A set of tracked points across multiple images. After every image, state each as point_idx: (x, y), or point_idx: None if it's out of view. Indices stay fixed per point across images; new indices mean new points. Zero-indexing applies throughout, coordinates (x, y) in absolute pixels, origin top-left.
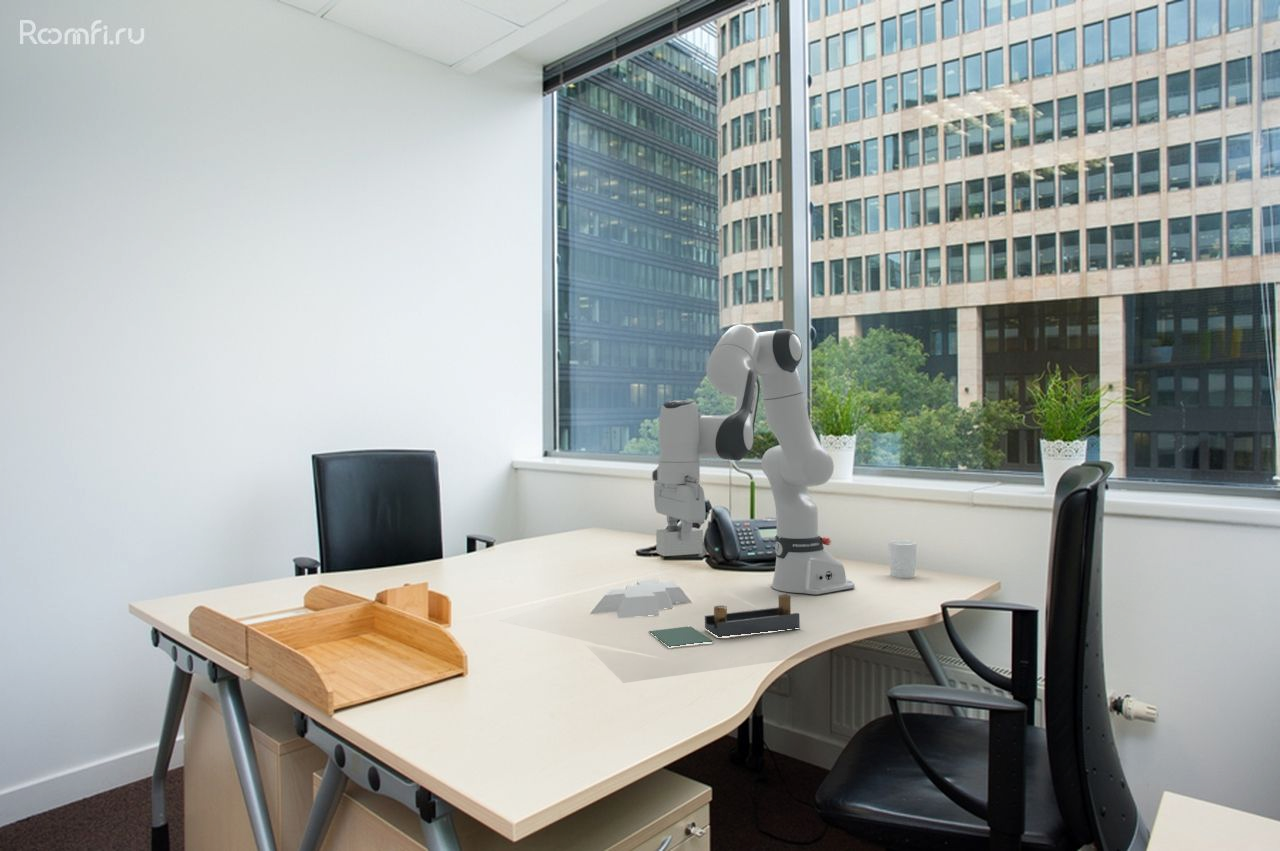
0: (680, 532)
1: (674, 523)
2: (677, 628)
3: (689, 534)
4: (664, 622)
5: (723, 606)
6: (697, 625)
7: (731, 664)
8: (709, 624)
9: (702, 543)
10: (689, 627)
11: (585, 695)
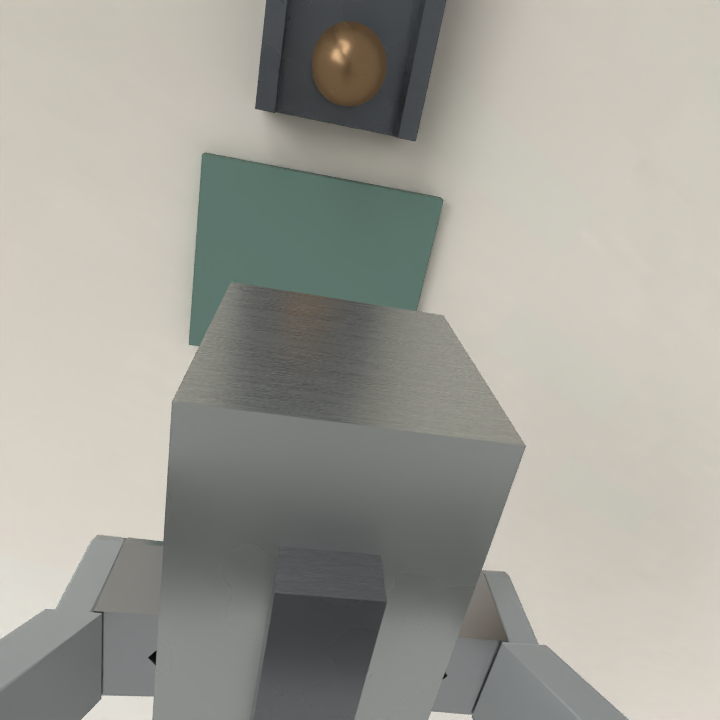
0: (444, 708)
1: (25, 709)
2: (209, 226)
3: (527, 627)
4: (31, 184)
5: (347, 36)
6: (149, 73)
7: (651, 279)
8: (303, 112)
9: (467, 359)
10: (219, 169)
11: (558, 654)
